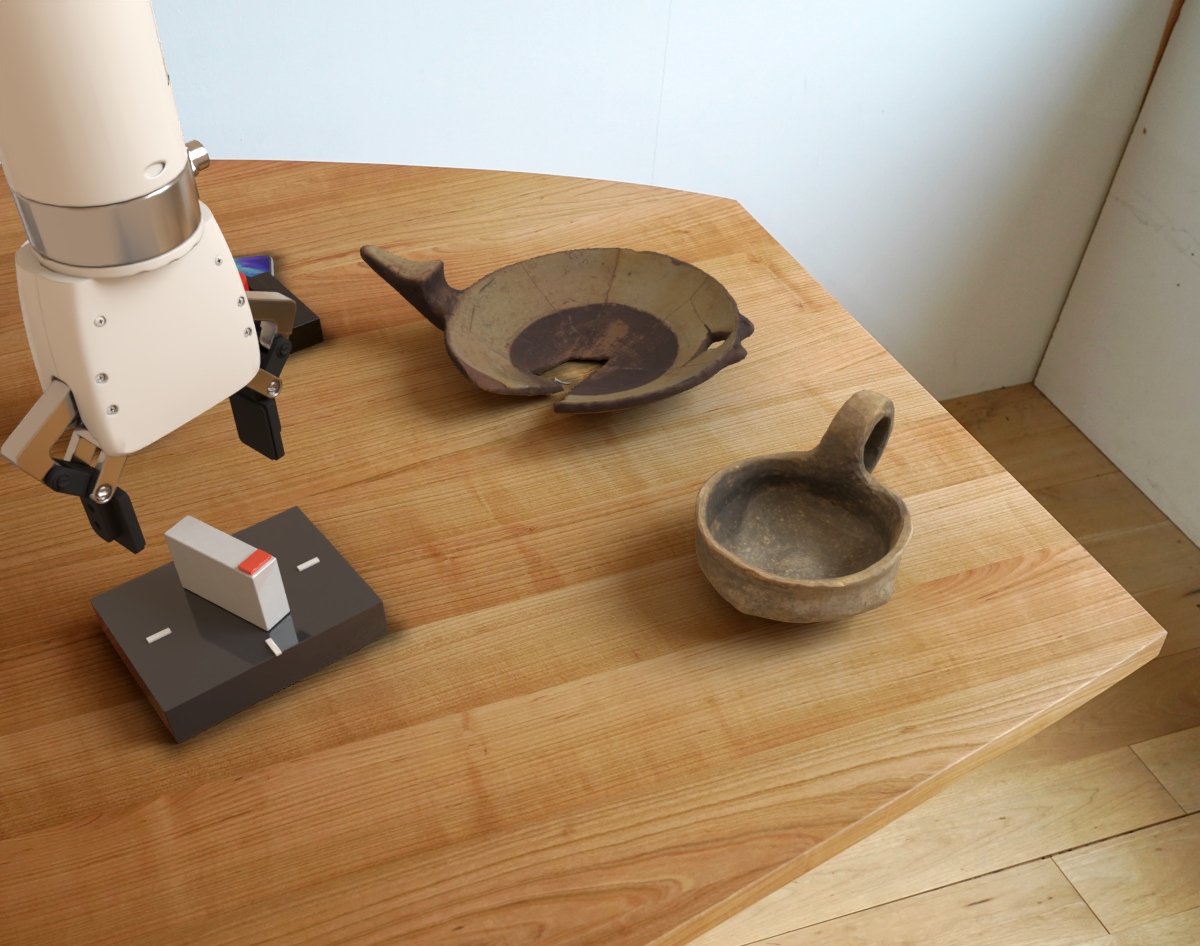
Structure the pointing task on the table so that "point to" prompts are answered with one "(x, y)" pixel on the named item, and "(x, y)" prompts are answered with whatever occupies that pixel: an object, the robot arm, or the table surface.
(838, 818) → the table surface
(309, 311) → the control block
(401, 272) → the broken clay pan
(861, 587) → the bowl
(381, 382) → the table surface
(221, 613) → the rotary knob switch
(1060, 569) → the table surface
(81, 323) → the robot arm
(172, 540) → the tap handle
